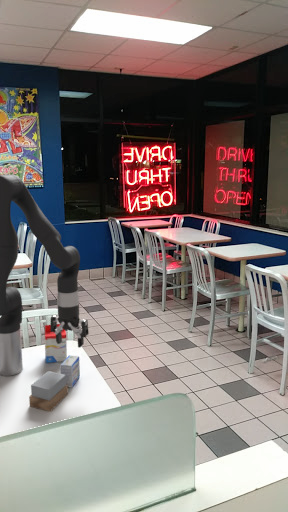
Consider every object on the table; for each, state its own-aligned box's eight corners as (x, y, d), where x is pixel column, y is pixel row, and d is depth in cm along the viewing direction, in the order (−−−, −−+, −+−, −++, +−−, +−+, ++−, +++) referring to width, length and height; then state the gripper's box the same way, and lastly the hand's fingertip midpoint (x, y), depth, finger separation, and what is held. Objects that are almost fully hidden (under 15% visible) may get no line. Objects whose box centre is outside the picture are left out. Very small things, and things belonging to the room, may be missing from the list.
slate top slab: (31, 395, 131) (31, 385, 130) (48, 381, 140) (48, 370, 140) (49, 400, 129) (49, 389, 128) (65, 385, 138) (65, 374, 137)
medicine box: (72, 387, 143) (71, 366, 141) (60, 386, 144) (60, 364, 142) (80, 376, 151) (79, 356, 149) (69, 375, 151) (68, 354, 149)
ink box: (45, 363, 160) (44, 329, 157) (45, 357, 165) (44, 325, 161) (67, 360, 162) (66, 327, 159) (66, 355, 167) (65, 323, 164)
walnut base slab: (29, 407, 132) (29, 396, 131) (48, 390, 142) (47, 380, 141) (50, 412, 129) (49, 401, 128) (67, 394, 139) (67, 384, 138)
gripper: (45, 303, 139) (47, 346, 143) (81, 308, 134) (82, 352, 138) (56, 297, 146) (58, 338, 149) (91, 301, 141) (92, 343, 145)
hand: (69, 344), depth 144 cm, fingers open, 8 cm apart
